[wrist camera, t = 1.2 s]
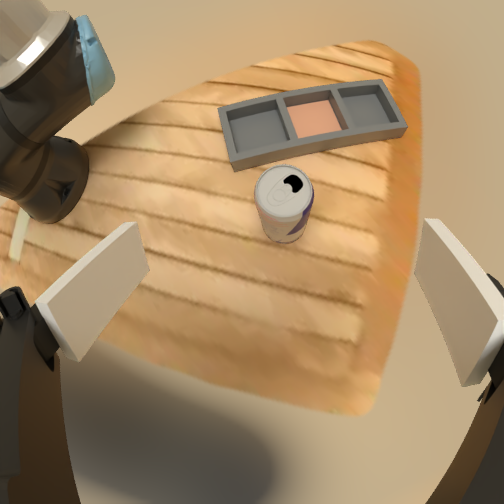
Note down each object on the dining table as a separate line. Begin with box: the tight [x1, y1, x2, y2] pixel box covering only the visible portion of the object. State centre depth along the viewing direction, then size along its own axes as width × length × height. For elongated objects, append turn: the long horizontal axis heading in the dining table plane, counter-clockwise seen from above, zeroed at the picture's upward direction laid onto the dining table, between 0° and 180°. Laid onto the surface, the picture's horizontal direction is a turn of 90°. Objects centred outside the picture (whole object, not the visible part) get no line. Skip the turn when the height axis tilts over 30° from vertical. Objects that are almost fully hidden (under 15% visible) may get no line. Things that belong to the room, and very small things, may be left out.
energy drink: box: [254, 164, 314, 244], centre depth 31 cm, size 5×5×12 cm
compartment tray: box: [217, 79, 408, 172], centre depth 37 cm, size 25×9×3 cm, turn 104°
